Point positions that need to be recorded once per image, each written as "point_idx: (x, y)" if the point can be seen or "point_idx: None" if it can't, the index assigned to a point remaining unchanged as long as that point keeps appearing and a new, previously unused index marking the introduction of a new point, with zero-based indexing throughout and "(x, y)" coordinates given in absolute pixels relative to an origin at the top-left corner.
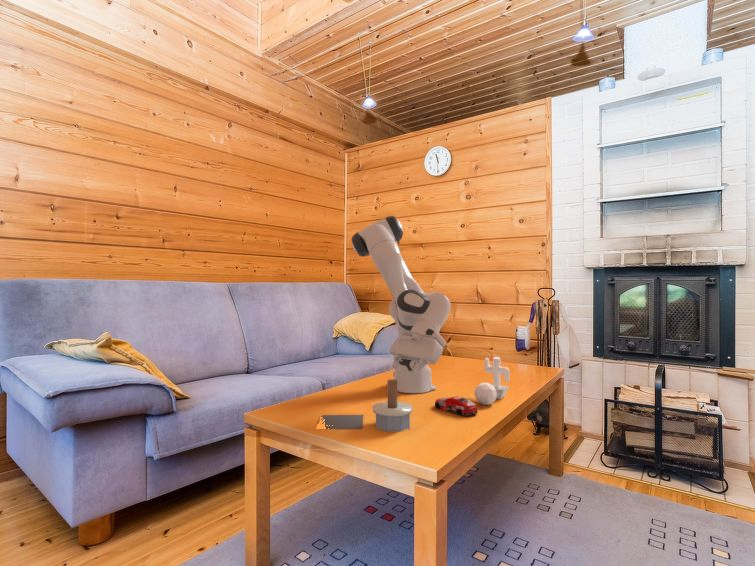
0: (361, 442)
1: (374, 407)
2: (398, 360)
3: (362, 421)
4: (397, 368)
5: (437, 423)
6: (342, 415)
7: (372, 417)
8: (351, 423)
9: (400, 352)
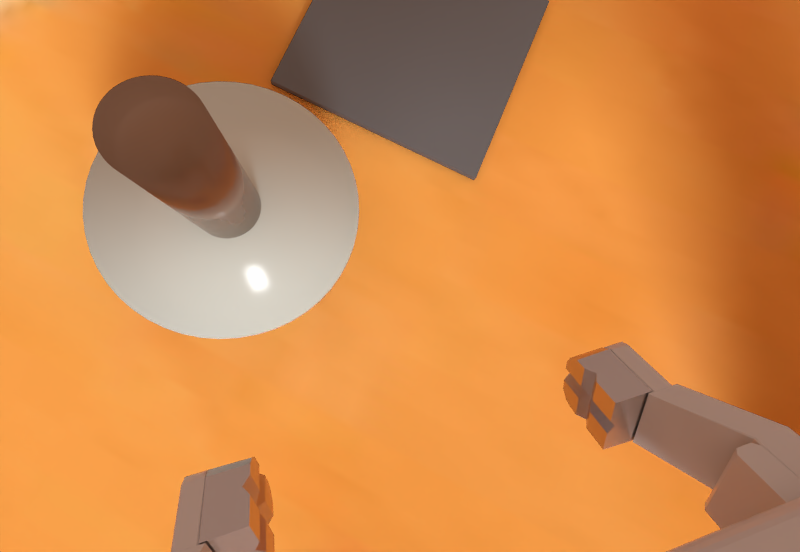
0: (124, 13)
1: (270, 101)
2: (714, 482)
3: (377, 128)
4: (569, 400)
5: None
6: (503, 83)
7: (435, 210)
8: (371, 70)
9: (771, 547)
